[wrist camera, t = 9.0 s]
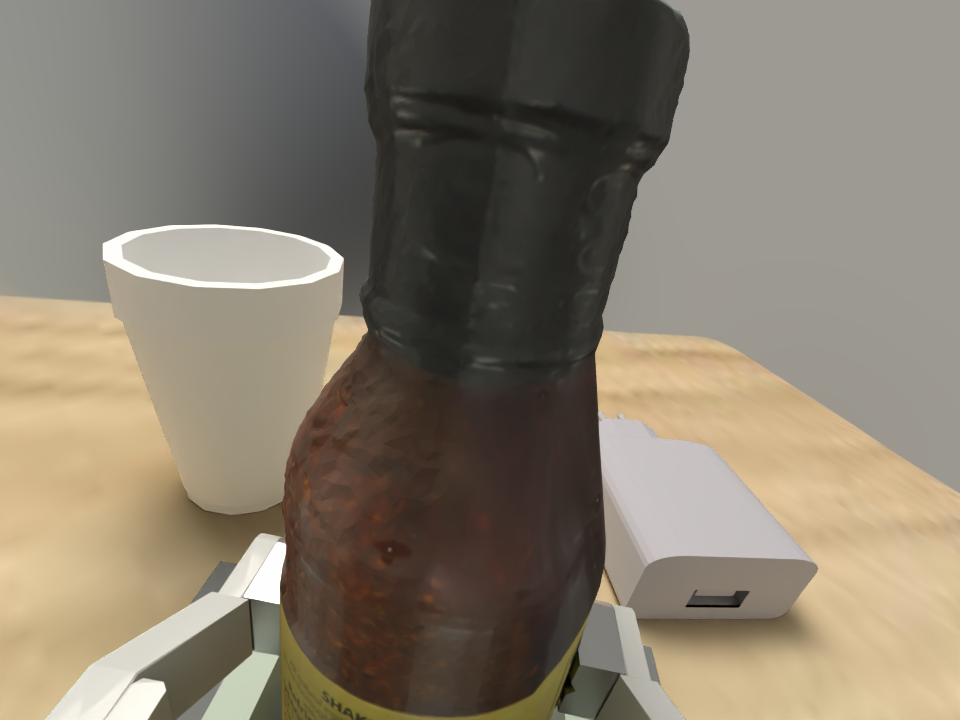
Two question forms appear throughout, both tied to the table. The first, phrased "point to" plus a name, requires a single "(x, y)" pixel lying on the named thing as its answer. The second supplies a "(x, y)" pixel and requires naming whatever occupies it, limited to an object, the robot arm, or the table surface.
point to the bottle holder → (265, 692)
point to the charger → (690, 532)
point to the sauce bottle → (473, 362)
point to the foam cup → (227, 347)
